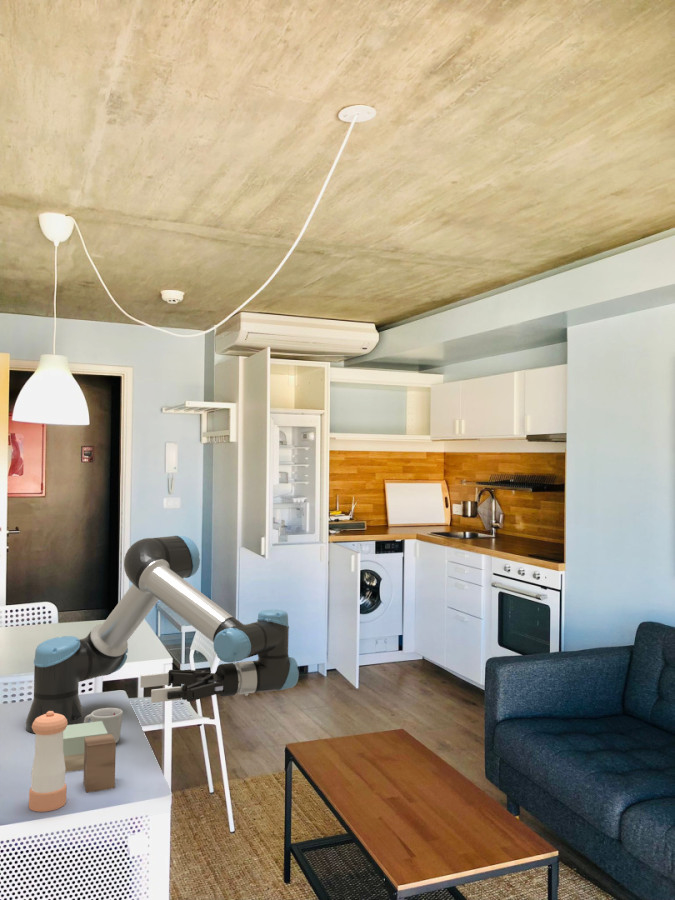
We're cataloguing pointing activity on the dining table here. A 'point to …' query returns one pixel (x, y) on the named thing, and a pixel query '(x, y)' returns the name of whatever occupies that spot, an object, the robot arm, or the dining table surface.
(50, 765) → the pepper shaker
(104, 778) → the walnut block
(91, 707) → the dining table surface
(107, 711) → the cup
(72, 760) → the tower bottom block
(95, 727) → the tower top block
